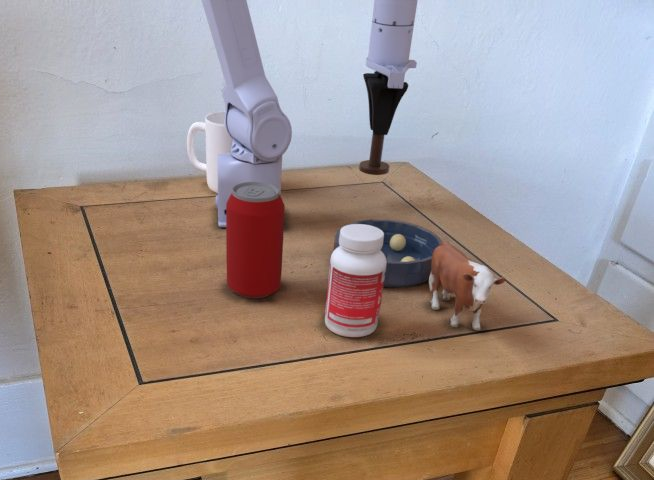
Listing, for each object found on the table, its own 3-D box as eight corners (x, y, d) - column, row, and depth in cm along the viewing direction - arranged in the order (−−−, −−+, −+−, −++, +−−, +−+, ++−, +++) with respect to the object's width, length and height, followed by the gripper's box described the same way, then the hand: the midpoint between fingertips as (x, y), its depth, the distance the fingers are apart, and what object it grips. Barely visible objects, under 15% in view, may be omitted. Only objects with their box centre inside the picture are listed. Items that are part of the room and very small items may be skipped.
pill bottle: (383, 337, 79) (399, 242, 72) (332, 341, 78) (343, 245, 71) (366, 311, 84) (379, 219, 76) (318, 315, 83) (326, 221, 75)
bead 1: (390, 253, 95) (392, 237, 94) (387, 247, 97) (389, 231, 95) (405, 253, 95) (408, 238, 94) (402, 247, 97) (405, 231, 95)
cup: (246, 199, 109) (247, 128, 102) (177, 187, 112) (173, 117, 105) (265, 183, 115) (267, 115, 108) (199, 171, 118) (197, 105, 111)
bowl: (339, 289, 88) (342, 262, 86) (327, 243, 98) (329, 218, 96) (449, 290, 89) (455, 264, 87) (425, 245, 99) (430, 220, 97)
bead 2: (399, 277, 90) (402, 260, 88) (396, 269, 91) (399, 253, 90) (416, 277, 90) (419, 260, 89) (413, 269, 92) (416, 253, 90)
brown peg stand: (361, 174, 105) (370, 102, 99) (356, 164, 109) (365, 94, 102) (391, 175, 106) (401, 103, 99) (385, 165, 109) (395, 95, 102)
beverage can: (289, 284, 88) (295, 186, 80) (266, 306, 84) (269, 205, 75) (241, 272, 90) (242, 175, 82) (216, 293, 86) (215, 193, 77)
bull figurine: (461, 349, 78) (478, 280, 73) (417, 294, 88) (429, 229, 82) (496, 345, 79) (516, 277, 74) (449, 292, 89) (464, 228, 83)
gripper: (434, 33, 89) (415, 147, 99) (411, 14, 100) (395, 119, 109) (380, 31, 89) (366, 146, 98) (362, 12, 99) (351, 117, 109)
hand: (378, 132), depth 104 cm, fingers closed on brown peg stand
